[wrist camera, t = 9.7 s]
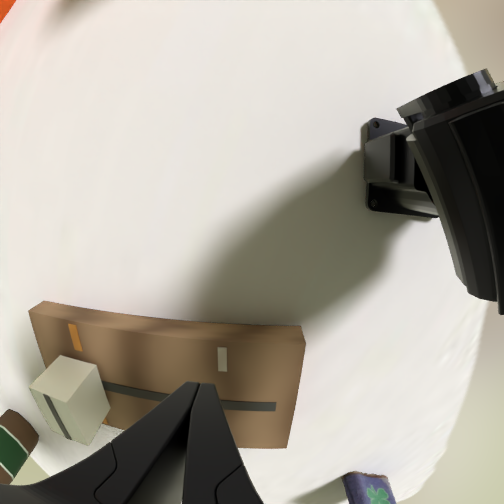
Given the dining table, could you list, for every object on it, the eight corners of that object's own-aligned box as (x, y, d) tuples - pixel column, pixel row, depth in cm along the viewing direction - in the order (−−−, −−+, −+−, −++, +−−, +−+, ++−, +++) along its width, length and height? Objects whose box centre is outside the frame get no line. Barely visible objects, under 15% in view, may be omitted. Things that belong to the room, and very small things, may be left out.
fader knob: (96, 364, 18) (65, 403, 13) (110, 408, 19) (88, 446, 14) (60, 354, 18) (28, 387, 13) (75, 397, 19) (51, 431, 14)
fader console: (300, 326, 20) (305, 344, 17) (284, 429, 23) (286, 449, 20) (44, 300, 20) (27, 311, 18) (74, 397, 23) (64, 410, 20)
